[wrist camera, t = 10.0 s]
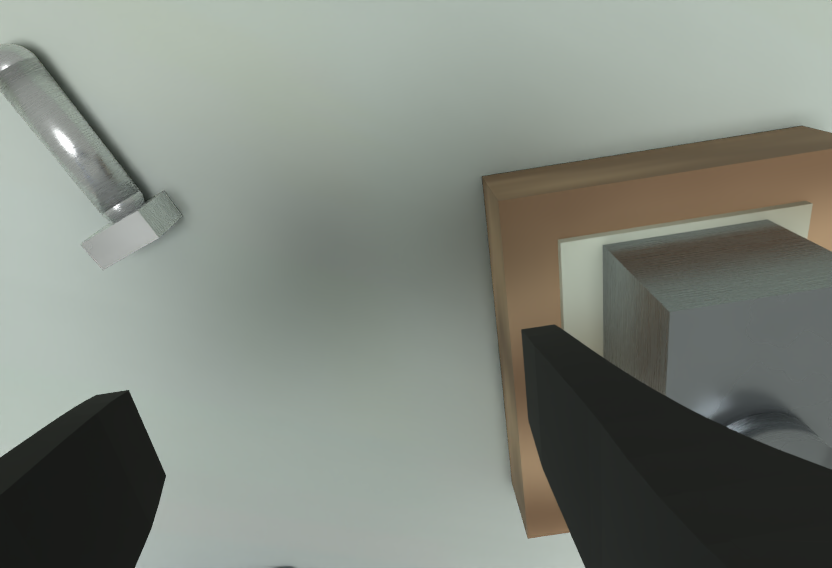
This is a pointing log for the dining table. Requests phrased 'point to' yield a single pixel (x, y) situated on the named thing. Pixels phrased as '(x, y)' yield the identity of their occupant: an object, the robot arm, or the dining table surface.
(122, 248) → the loose bolt
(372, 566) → the dining table surface
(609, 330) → the block
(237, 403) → the dining table surface
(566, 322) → the stand
